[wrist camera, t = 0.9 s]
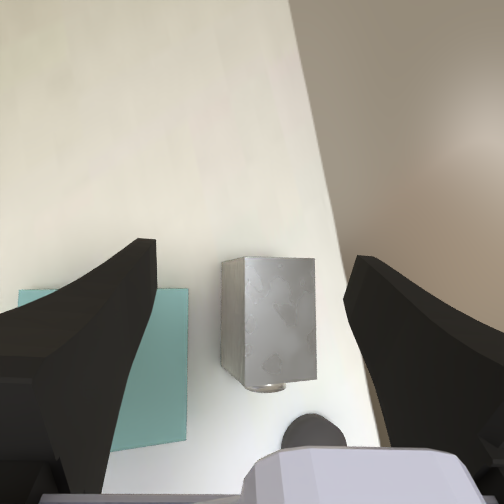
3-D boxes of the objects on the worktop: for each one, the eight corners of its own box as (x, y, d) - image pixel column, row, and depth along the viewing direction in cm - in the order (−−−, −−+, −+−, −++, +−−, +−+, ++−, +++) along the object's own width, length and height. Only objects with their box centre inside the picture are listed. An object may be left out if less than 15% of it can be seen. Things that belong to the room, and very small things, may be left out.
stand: (180, 425, 25) (186, 440, 23) (21, 448, 22) (8, 467, 19) (183, 288, 26) (188, 288, 24) (30, 289, 23) (18, 289, 20)
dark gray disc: (334, 470, 29) (348, 483, 27) (280, 481, 27) (291, 496, 26) (332, 409, 30) (346, 417, 28) (279, 417, 28) (290, 426, 26)
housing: (279, 372, 28) (317, 395, 22) (220, 378, 26) (245, 404, 21) (278, 263, 29) (314, 258, 23) (221, 262, 27) (244, 256, 22)
